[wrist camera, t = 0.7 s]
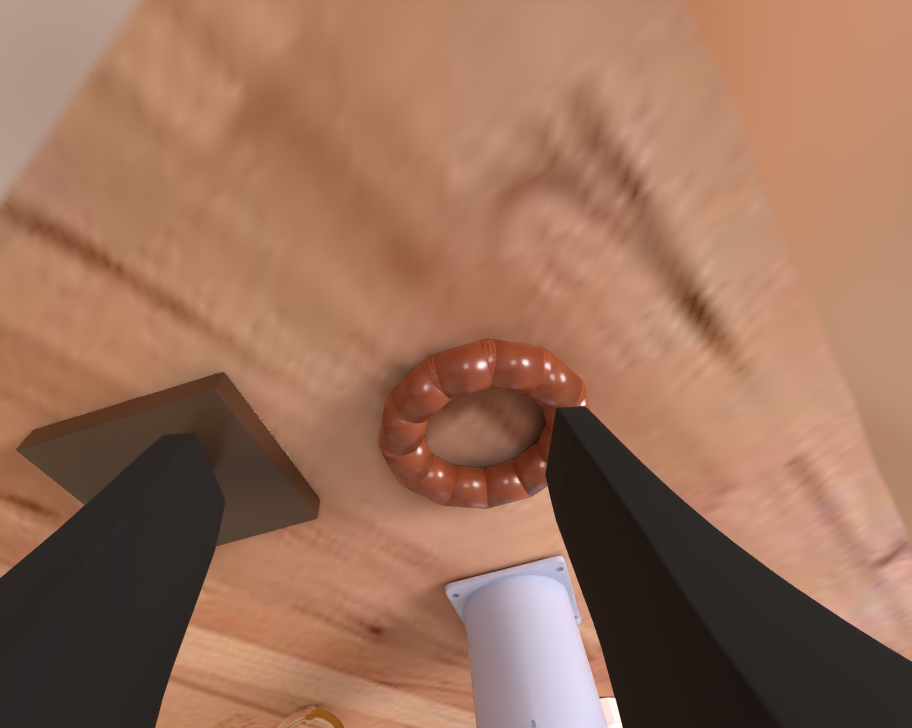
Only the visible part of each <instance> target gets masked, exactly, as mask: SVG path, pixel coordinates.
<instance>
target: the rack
mask: <svg viewBox="0 0 912 728" xmlns="http://www.w3.org/2000/svg"><path fill="white" fill-rule="evenodd" d="M183 433H196V435H197V437H198V439H199V442H200V444H201V446H202V448H203V451H204V453H205V455H206V457H207V459H208V462H209V464H210V466H211V468H212V471H213V473H214V475H215V477H216V479H217V482H218V484H219V486H220V488H221V491H222V493H223V495H224V497H225V499H226V502H225V507H224V512H223V517H222V521H221V526H220V531H219V535H218V539H217V543H216V546H218V545H222V544H226V543H230V542H233V541H237V540H241V539H244V538H248V537H252V536H255V535H259V534H263V533H266V532H270V531H274V530H277V529H281V528H285V527H288V526H292V525H296V524H299V523H303V522H307V521H310V520H314V519H317V517H318V510H319V504H320V499H319V498H318V496H317V495H316V494H315V492H314V491H313V490H312V488H311V487H310V486H309V484H308V483H307V482H306V480H305V479H304V478H303V476H302V475H301V474H300V472H299V471H298V470H297V468H296V467H295V466H294V464H293V463H292V462H291V460H290V459H289V458H288V456H287V455H286V454H285V452H284V451H283V450H282V448H281V447H280V446H279V444H278V443H277V442H276V440H275V439H274V438H273V436H272V435H271V434H270V433H269V431H268V430H267V429H266V427H265V426H264V425H263V423H262V422H261V421H260V419H259V418H258V417H257V415H256V414H255V413H254V411H253V410H252V409H251V407H250V406H249V405H248V403H247V402H246V401H245V399H244V398H243V397H242V395H241V394H240V393H239V391H238V390H237V389H236V387H235V386H234V385H233V383H232V382H231V381H230V379H229V378H228V377H227V375H226V374H225V373H224V372H222V373H219V374H215V375H212V376H209V377H206V378H202V379H199V380H196V381H192V382H189V383H186V384H183V385H179V386H176V387H173V388H170V389H166V390H163V391H160V392H156V393H153V394H150V395H147V396H143V397H140V398H137V399H134V400H130V401H127V402H124V403H120V404H117V405H114V406H111V407H107V408H104V409H101V410H98V411H94V412H91V413H88V414H84V415H81V416H78V417H75V418H71V419H68V420H65V421H62V422H58V423H55V424H52V425H48V426H45V427H42V428H39V429H35V430H33V431H32V432H31V433H30V434H29V435H28V437H27V438H26V439H25V440H24V441H23V442H22V443H21V444H20V446H19V447H18V448H17V449H16V450H17V451H18V452H19V453H20V454H22V455H23V456H24V457H25V458H27V459H28V460H29V461H30V462H32V463H33V464H34V465H35V466H37V467H38V468H39V469H40V470H42V471H43V472H44V473H46V474H47V475H48V476H49V477H51V478H52V479H53V480H54V481H56V482H57V483H58V484H59V485H61V486H62V487H63V488H64V489H66V490H67V491H68V492H69V493H71V494H72V495H73V496H75V497H76V498H77V499H78V500H80V501H81V502H82V503H83V504H85V505H86V504H87V503H88V502H89V501H90V500H91V499H92V498H94V497H95V496H96V495H97V494H98V493H99V492H100V491H101V490H102V489H103V488H105V487H106V486H107V485H108V484H109V483H110V482H111V481H112V480H113V479H114V478H115V477H117V476H118V475H119V474H120V473H121V472H122V471H123V470H124V469H125V468H126V467H127V466H128V465H130V464H131V463H132V462H133V461H134V460H135V459H136V458H137V457H138V456H139V455H141V454H142V453H143V452H144V451H145V450H146V449H147V448H148V447H149V446H151V445H152V444H153V443H154V442H155V441H156V440H158V439H159V438H160V437H161V436H162V435H168V434H183Z"/></svg>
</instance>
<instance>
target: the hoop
mask: <svg viewBox="0 0 912 728" xmlns="http://www.w3.org/2000/svg"><path fill="white" fill-rule="evenodd" d="M489 388H492V389H499V390H507V391H514V392H522V393H525V394H527V395H528V396H529V397H530V398H532V399H533V400H534V401H536V402H537V403H538V404H540V405H541V406H542V407H543V411H544V415H545V419H546V424H545V426H544V428H543V431H542V433H541V435H540V437H539V439H538V441H537V442H536V443H535V444H534V445H532V446H531V447H530V448H528V449H527V450H526V451H524V452H523V453H522V454H520V455H519V456H518V457H516V458H515V459H513V460H510V461H506V462H502V463H499V464H495V465H491V466H488V467H484V468H478V467H468V466H457V465H451V464H449V463H447V462H446V461H444V460H442V459H441V458H439V457H437V456H435V455H434V454H432V453H431V452H430V450H429V448H428V446H427V443H426V441H425V439H424V435H425V431H426V428H427V424H428V421H429V419H430V418H431V417H432V416H433V415H434V414H435V413H437V412H438V411H439V410H440V409H441V408H442V407H444V406H445V405H446V404H447V403H448V402H449V401H450V400H452V399H454V398H457V397H461V396H464V395H468V394H471V393H475V392H478V391H482V390H485V389H489ZM574 406H586V407H587V408H588V409H589V405H588V399H587V392H586V388H585V385H584V383H583V381H582V380H581V379H580V378H579V377H578V376H577V375H576V374H575V373H573V372H572V371H571V370H570V369H569V368H568V367H566V366H565V365H564V364H563V363H562V362H560V361H559V360H558V359H557V358H556V357H555V356H553V355H552V354H551V353H550V352H549V351H547V350H546V349H544V348H541V347H537V346H530V345H524V344H517V343H511V342H505V341H498V340H492V339H484V340H480V341H476V342H473V343H470V344H466V345H463V346H460V347H456V348H453V349H449V350H446V351H443V352H439V353H436V354H433V355H430V356H428V357H427V358H425V359H424V360H423V361H422V362H421V363H420V364H419V365H418V366H417V367H416V368H415V369H414V370H413V371H412V372H411V373H409V374H408V375H407V376H406V377H405V378H404V379H403V380H402V381H401V382H400V383H399V384H398V385H397V386H396V387H395V388H394V389H392V391H391V392H390V393H389V395H388V396H387V399H386V402H385V407H384V412H383V417H382V421H381V426H380V431H379V436H378V444H379V448H380V450H381V452H382V454H383V456H384V458H385V459H386V461H387V463H388V465H389V466H390V468H391V470H392V472H393V474H394V475H395V477H396V479H397V480H398V482H399V483H400V484H401V485H403V486H404V487H406V488H407V489H409V490H411V491H413V492H415V493H417V494H419V495H421V496H423V497H425V498H427V499H429V500H431V501H433V502H434V503H436V504H439V505H443V506H454V507H468V508H482V509H486V508H492V507H495V506H499V505H503V504H507V503H510V502H514V501H518V500H522V499H525V498H529V497H532V496H534V495H535V494H537V493H538V492H540V491H541V490H542V489H544V488H545V487H547V486H548V484H547V480H546V476H545V473H546V467H547V461H548V454H549V448H550V442H551V436H552V430H553V424H554V418H555V412H556V408H559V407H574Z"/></svg>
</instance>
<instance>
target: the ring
mask: <svg viewBox="0 0 912 728" xmlns="http://www.w3.org/2000/svg"><path fill="white" fill-rule="evenodd" d="M315 720H319V721H322V722H325V723H327V724H328V725H330V726H331V727H332V728H345V727H344V726H343V724H342V722H341V721H340V720H339V719H338V718H337V717H336V716H335V715H334V714H332V713H331V712H329V711H326V710H323V709H318V708H316V706H315V705H310V706H307V707H306V709H304V710H301V711H298V712H296V713H294V714H292V715H290V716H289V717H287V718H286V719H285V720H283V721H282V722H281V723H280V724H279V725H278V726H277V727H276V728H291V727H292V726H294V725H296V724H298V723H300V722H303V721H305V722H306V723H307V724H312V723H314V722H315Z"/></svg>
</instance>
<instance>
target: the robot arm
mask: <svg viewBox="0 0 912 728" xmlns="http://www.w3.org/2000/svg"><path fill="white" fill-rule="evenodd" d="M545 476H546V480H547V484H548V489H549V493H550V498H551V502H552V506H553V510H554V514H555V518H556V521H557V524H558V527H559V530H560V533H561V535H562V538H563V541H564V544H565V547H566V549H567V552H568V555H569V558H570V560H571V563H572V566H573V569H574V571H575V574H576V577H577V579H578V582H579V585H580V588H581V590H582V593H583V596H584V599H585V601H586V604H587V607H588V609H589V612H590V615H591V618H592V620H593V623H594V626H595V629H596V632H597V635H598V638H599V642H600V645H601V648H602V651H603V655H604V659H605V662H606V666H607V670H608V674H609V677H610V681H611V685H612V689H613V692H614V696H615V700H616V704H617V707H618V711H619V715H620V719H621V723H622V727H623V728H912V662H911V661H910V660H908V659H906V658H905V657H903V656H901V655H900V654H898V653H896V652H895V651H893V650H891V649H890V648H888V647H886V646H885V645H883V644H881V643H880V642H878V641H877V640H875V639H873V638H872V637H870V636H869V635H867V634H866V633H864V632H862V631H861V630H859V629H858V628H856V627H854V626H853V625H851V624H850V623H848V622H846V621H845V620H843V619H842V618H840V617H839V616H837V615H836V614H834V613H833V612H831V611H830V610H828V609H827V608H825V607H824V606H822V605H821V604H819V603H818V602H816V601H815V600H813V599H812V598H810V597H809V596H807V595H806V594H804V593H803V592H801V591H800V590H798V589H797V588H796V587H794V586H793V585H791V584H790V583H788V582H787V581H786V580H784V579H783V578H781V577H780V576H778V575H777V574H776V573H774V572H773V571H771V570H770V569H769V568H767V567H766V566H765V565H763V564H762V563H761V562H759V561H758V560H757V559H755V558H754V557H753V556H751V555H750V554H749V553H747V552H746V551H745V550H743V549H742V548H741V547H739V546H738V545H737V544H735V543H734V542H733V541H731V540H730V539H729V538H728V537H726V536H725V535H724V534H723V533H721V532H720V531H719V530H718V529H716V528H715V527H714V526H713V525H711V524H710V523H709V522H708V521H707V520H706V519H704V518H703V517H702V516H701V515H700V514H698V513H697V512H696V511H695V510H694V509H693V508H691V507H690V506H689V505H688V504H687V503H685V502H684V501H683V500H682V499H681V498H680V497H679V496H678V495H676V494H675V493H674V492H673V491H672V490H671V489H670V488H669V487H668V486H667V485H665V484H664V483H663V482H662V481H661V480H660V479H659V478H658V477H657V476H656V475H655V474H654V473H653V472H652V471H650V470H649V469H648V468H647V467H646V466H645V465H644V464H643V463H642V462H641V461H640V460H639V459H638V458H637V457H636V456H635V455H634V454H633V453H632V452H631V451H630V450H629V449H628V448H627V447H626V446H625V445H624V444H623V443H622V442H621V441H620V440H619V439H618V438H617V437H616V436H615V435H614V434H613V433H612V432H611V431H610V430H609V429H608V428H607V427H606V426H605V425H604V424H603V423H602V422H601V421H600V420H599V419H598V418H597V417H596V416H595V415H594V414H593V413H592V412H591V411H590V410H589V409H588V408H587V407H586V406H574V407H559V408H556V412H555V418H554V424H553V430H552V436H551V442H550V448H549V454H548V461H547V467H546V473H545ZM225 502H226V499H225V497H224V495H223V493H222V491H221V488H220V486H219V484H218V482H217V479H216V477H215V475H214V473H213V471H212V468H211V466H210V464H209V462H208V459H207V457H206V455H205V453H204V451H203V448H202V446H201V444H200V442H199V439H198V437H197V435H196V433H183V434H168V435H162V436H161V437H160V438H159V439H158V440H156V441H155V442H154V443H153V444H152V445H151V446H149V447H148V448H147V449H146V450H145V451H144V452H143V453H142V454H141V455H139V456H138V457H137V458H136V459H135V460H134V461H133V462H132V463H131V464H130V465H128V466H127V467H126V468H125V469H124V470H123V471H122V472H121V473H120V474H119V475H118V476H117V477H115V478H114V479H113V480H112V481H111V482H110V483H109V484H108V485H107V486H106V487H105V488H103V489H102V490H101V491H100V492H99V493H98V494H97V495H96V496H95V497H94V498H92V499H91V500H90V501H89V502H88V503H87V504H86V505H85V506H84V507H82V508H81V509H80V510H79V511H78V512H77V513H76V514H75V515H74V516H72V517H71V518H70V519H69V520H68V521H67V522H66V523H65V524H64V525H62V526H61V527H60V528H59V529H58V530H57V531H56V532H54V533H53V534H52V535H51V536H50V537H49V538H47V539H46V540H45V541H44V542H43V543H41V544H40V545H39V546H38V547H37V548H35V549H34V550H33V551H32V552H31V553H30V554H28V555H27V556H26V557H25V558H24V559H22V560H21V561H20V562H19V563H18V564H17V565H15V566H14V567H13V568H12V569H11V570H9V571H8V572H7V573H6V574H5V575H3V576H2V577H1V578H0V728H155V726H156V722H157V718H158V715H159V711H160V707H161V703H162V699H163V696H164V693H165V690H166V687H167V683H168V680H169V677H170V674H171V671H172V668H173V665H174V663H175V660H176V657H177V654H178V652H179V649H180V646H181V643H182V641H183V638H184V635H185V632H186V630H187V627H188V624H189V621H190V619H191V616H192V613H193V610H194V608H195V605H196V602H197V599H198V597H199V594H200V591H201V588H202V585H203V583H204V580H205V577H206V574H207V571H208V569H209V566H210V563H211V560H212V557H213V554H214V551H215V548H216V543H217V539H218V535H219V531H220V526H221V521H222V517H223V512H224V507H225ZM445 594H446V595H447V597H448V599H449V600H450V602H451V604H452V605H453V607H454V608H455V610H456V612H457V613H458V615H459V617H460V618H461V620H462V622H463V623H464V625H465V627H466V636H467V645H468V654H469V662H470V671H471V680H472V689H473V698H474V706H475V715H476V724H477V728H608V726H607V722H606V719H605V716H604V712H603V709H602V706H601V702H600V699H599V696H598V692H597V689H596V686H595V682H594V679H593V676H592V672H591V669H590V666H589V662H588V659H587V656H586V652H585V649H584V646H583V642H582V639H581V636H580V632H579V629H578V626H579V625H580V624H581V618H580V614H579V611H578V607H577V603H576V599H575V596H574V592H573V588H572V585H571V581H570V577H569V573H568V570H567V566H566V562H565V559H564V557H562V556H554V557H550V558H546V559H542V560H538V561H535V562H531V563H527V564H523V565H519V566H515V567H511V568H507V569H503V570H499V571H495V572H491V573H487V574H483V575H479V576H475V577H471V578H467V579H463V580H460V581H456V582H452V583H449V584H447V585H446V586H445Z"/></svg>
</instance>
